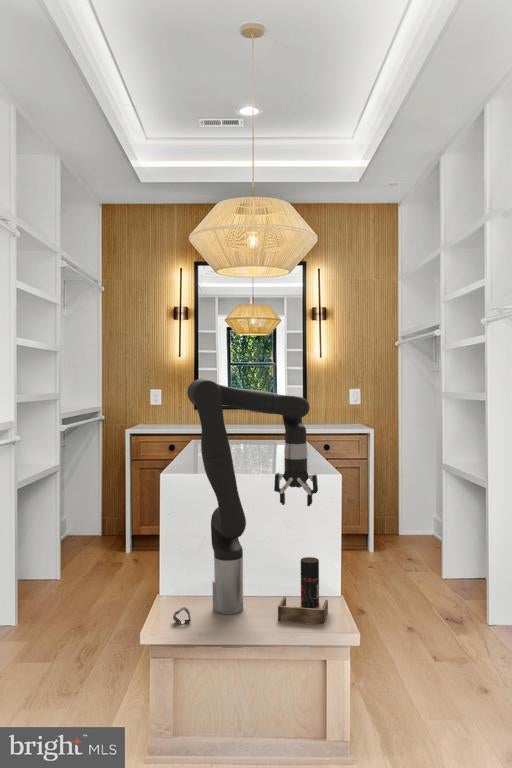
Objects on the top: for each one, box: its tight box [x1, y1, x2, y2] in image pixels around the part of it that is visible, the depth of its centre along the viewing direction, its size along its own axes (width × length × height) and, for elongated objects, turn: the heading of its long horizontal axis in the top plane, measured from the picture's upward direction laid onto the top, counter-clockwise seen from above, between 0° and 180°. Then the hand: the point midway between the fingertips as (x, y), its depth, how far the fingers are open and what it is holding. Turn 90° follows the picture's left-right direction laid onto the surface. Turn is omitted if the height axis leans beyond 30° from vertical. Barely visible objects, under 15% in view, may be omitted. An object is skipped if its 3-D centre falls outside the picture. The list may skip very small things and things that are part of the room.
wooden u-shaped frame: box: [277, 595, 329, 625], centre depth 206 cm, size 14×9×4 cm, turn 76°
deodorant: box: [300, 556, 320, 609], centre depth 215 cm, size 6×6×15 cm
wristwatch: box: [172, 606, 192, 625], centre depth 202 cm, size 3×5×5 cm
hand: (296, 505), depth 218 cm, fingers open, 8 cm apart
